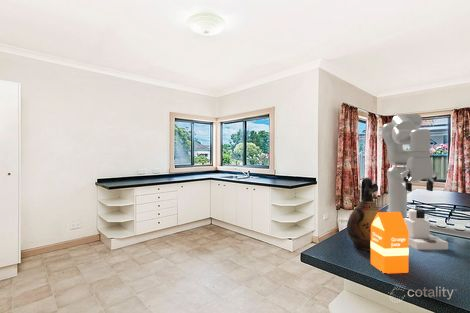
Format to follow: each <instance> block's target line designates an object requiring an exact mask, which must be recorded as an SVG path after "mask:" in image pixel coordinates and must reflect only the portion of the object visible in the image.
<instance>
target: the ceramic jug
mask: <svg viewBox="0 0 470 313" xmlns="http://www.w3.org/2000/svg"><path fill="white" fill-rule="evenodd" d="M360 189H361V190H360V191H361V194H360V196H361V197H360V201H359V203H358V204H357V205H356V206H355V207H354V209H353V210H352V211H351V213H350V215H349V218H348V220H347V224H346V231H347V234H348V237H349V238H350V239H351V241H352V242H353V246H354V248H355V249H356V250H361V251H364V252H371V224H372V222H373V220H374V218H375V217H376V215H377V212H381V210H380V208H379V206H377V204H376V202H375V200H374V198H373V193H376V192H378V191H379V186H378V184H377V183H373V180H372V179H371V178H370V177H365V178H362V180H361V187H360Z"/></svg>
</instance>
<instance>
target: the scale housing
mask: <svg viewBox="0 0 470 313" xmlns="http://www.w3.org/2000/svg"><path fill="white" fill-rule="evenodd" d="M430 236H431V237H433V238H435V239H411V238H409V246H410V247H411V248H413V249H415V250H419V251H420V250H421V251H423V250H449V242H448V241H446V240H444V239H442V238H440V237H437V236H434V235H432V234H430Z"/></svg>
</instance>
